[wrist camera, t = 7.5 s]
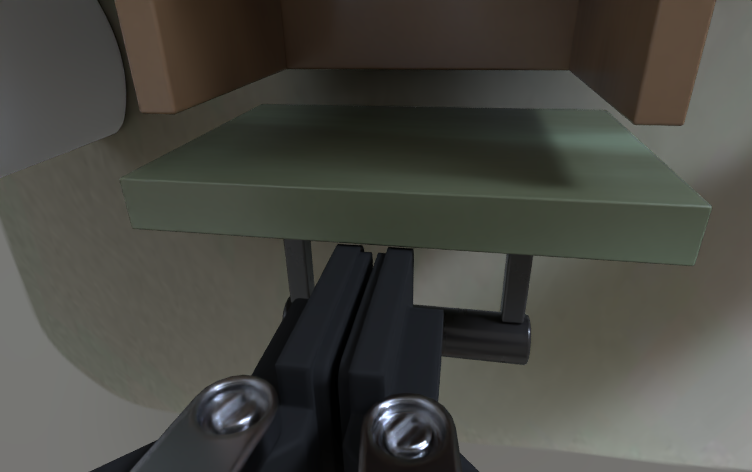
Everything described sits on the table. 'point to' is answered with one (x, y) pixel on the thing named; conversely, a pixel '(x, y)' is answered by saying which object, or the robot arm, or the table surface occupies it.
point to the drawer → (425, 137)
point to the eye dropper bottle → (56, 80)
